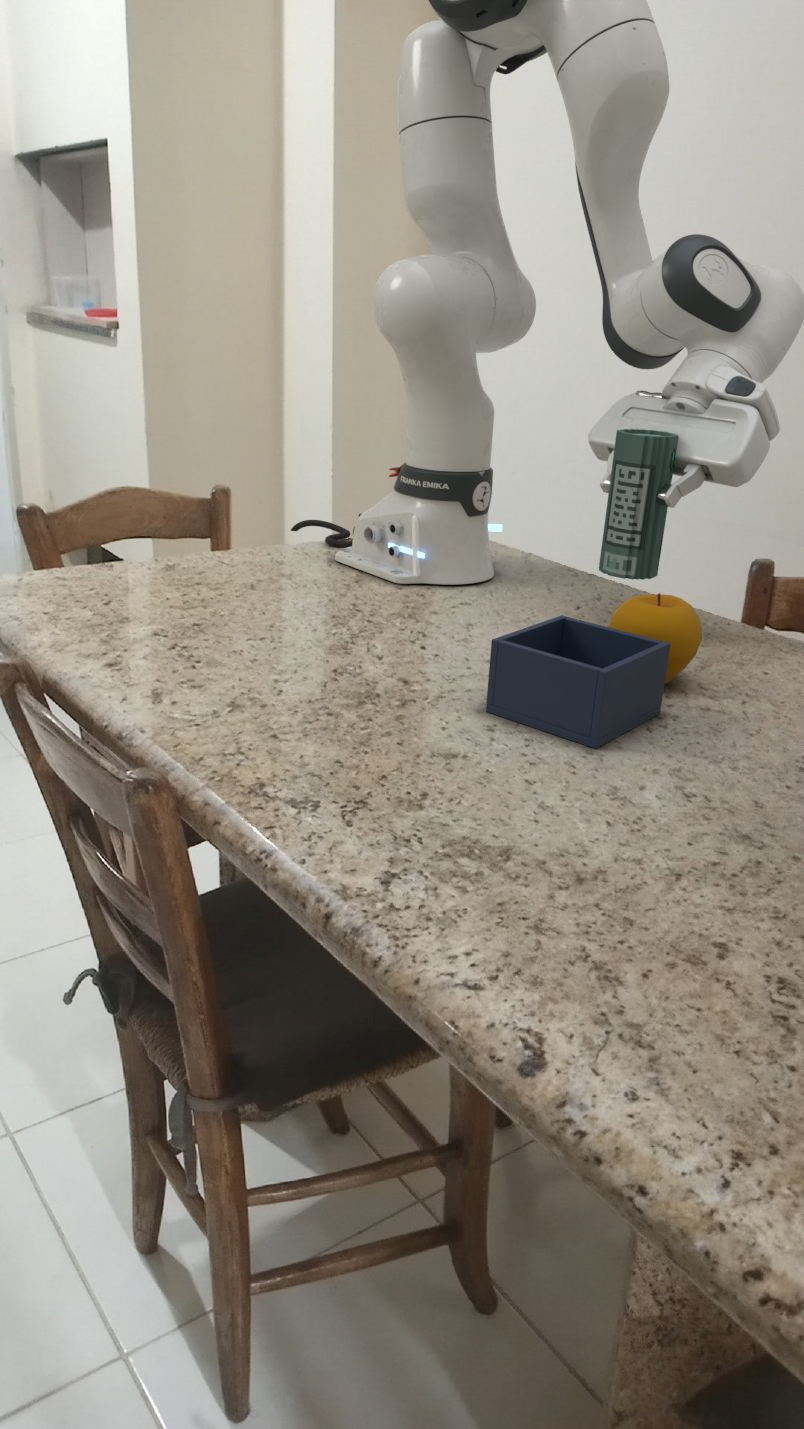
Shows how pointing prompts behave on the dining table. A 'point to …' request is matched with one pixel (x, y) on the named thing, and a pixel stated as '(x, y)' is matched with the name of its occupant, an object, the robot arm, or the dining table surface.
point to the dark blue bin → (577, 679)
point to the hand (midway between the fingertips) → (635, 496)
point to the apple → (662, 626)
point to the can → (637, 503)
